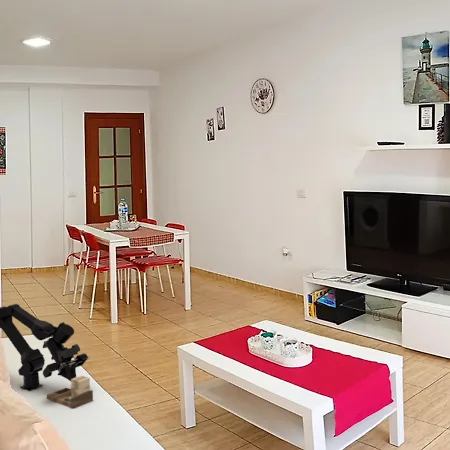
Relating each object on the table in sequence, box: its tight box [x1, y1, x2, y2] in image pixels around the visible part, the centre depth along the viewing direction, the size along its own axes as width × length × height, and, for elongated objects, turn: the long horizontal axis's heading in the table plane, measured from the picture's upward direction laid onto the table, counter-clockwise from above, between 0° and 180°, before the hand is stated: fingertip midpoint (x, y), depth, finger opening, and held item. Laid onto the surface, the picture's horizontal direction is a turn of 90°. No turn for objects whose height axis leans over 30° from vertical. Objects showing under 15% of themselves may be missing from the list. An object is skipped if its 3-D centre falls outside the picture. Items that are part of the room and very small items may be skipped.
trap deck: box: [46, 387, 94, 409], centre depth 228 cm, size 16×10×4 cm, turn 53°
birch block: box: [70, 375, 91, 397], centre depth 226 cm, size 5×5×8 cm
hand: (75, 382), depth 228 cm, fingers closed
